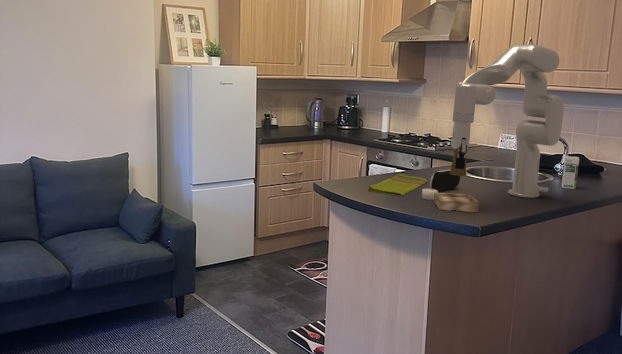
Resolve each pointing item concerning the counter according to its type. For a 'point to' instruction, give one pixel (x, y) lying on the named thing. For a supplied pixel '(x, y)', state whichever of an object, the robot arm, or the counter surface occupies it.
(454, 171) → the cork
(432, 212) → the counter surface
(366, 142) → the counter surface
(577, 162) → the syrup box
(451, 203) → the stand
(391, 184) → the dish towel
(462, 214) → the counter surface
